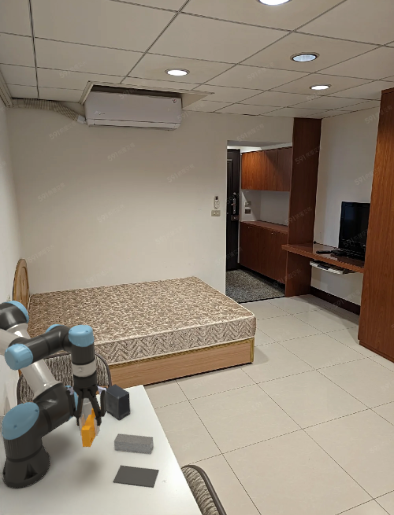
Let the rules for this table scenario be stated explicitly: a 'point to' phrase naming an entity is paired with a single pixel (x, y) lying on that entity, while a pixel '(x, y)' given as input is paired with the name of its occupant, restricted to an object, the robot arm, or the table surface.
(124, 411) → the small box
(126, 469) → the pad
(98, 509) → the table surface
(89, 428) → the pipe clamp
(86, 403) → the cup
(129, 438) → the grey rectangular bar
